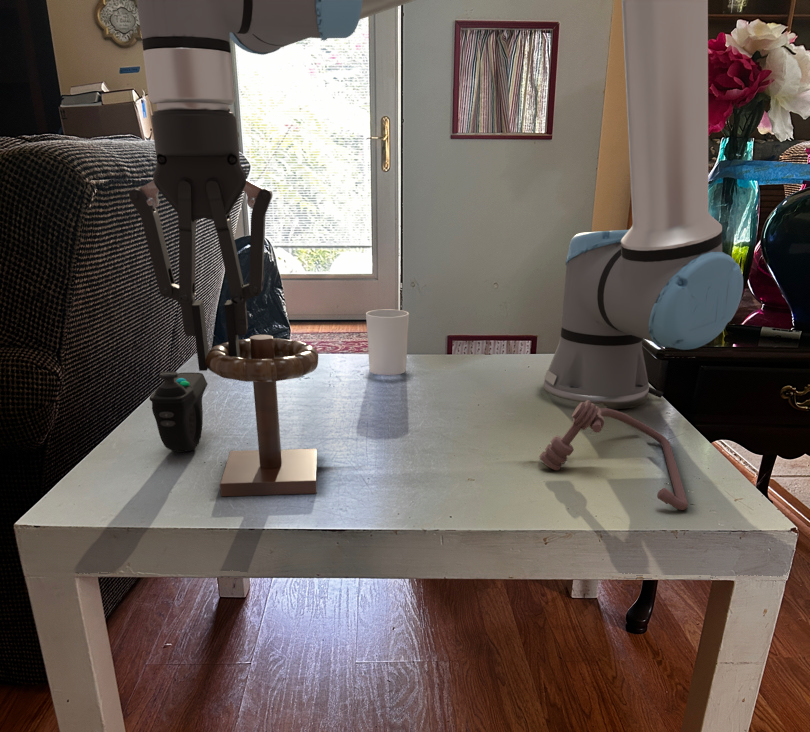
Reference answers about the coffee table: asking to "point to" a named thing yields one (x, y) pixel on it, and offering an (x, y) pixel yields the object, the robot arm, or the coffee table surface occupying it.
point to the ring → (263, 362)
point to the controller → (179, 409)
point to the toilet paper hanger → (593, 417)
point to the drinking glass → (387, 341)
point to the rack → (268, 447)
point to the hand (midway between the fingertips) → (220, 366)
